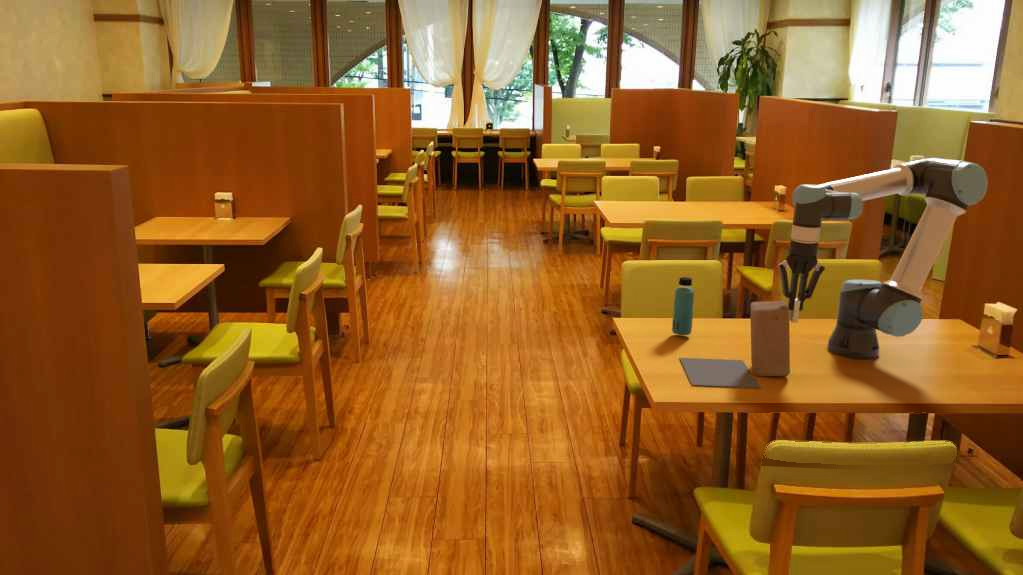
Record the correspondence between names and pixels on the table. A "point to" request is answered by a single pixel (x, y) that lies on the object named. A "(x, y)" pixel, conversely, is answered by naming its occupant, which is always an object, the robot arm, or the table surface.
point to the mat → (718, 373)
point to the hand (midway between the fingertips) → (793, 321)
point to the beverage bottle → (683, 308)
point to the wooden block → (770, 338)
